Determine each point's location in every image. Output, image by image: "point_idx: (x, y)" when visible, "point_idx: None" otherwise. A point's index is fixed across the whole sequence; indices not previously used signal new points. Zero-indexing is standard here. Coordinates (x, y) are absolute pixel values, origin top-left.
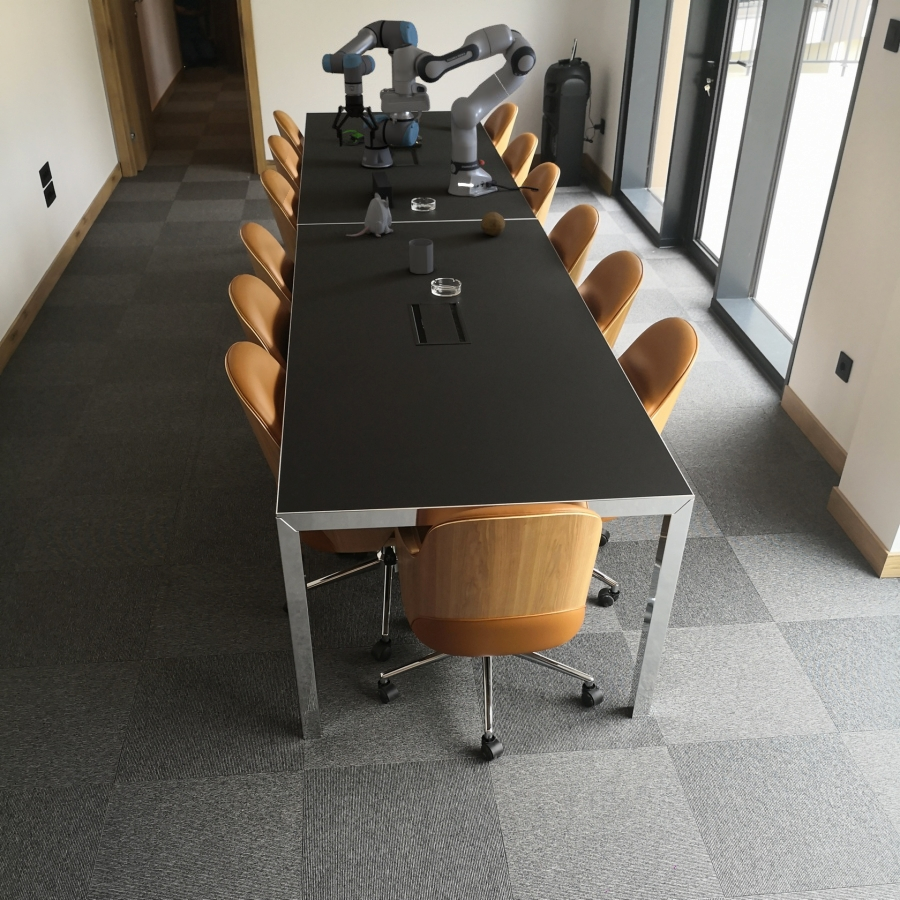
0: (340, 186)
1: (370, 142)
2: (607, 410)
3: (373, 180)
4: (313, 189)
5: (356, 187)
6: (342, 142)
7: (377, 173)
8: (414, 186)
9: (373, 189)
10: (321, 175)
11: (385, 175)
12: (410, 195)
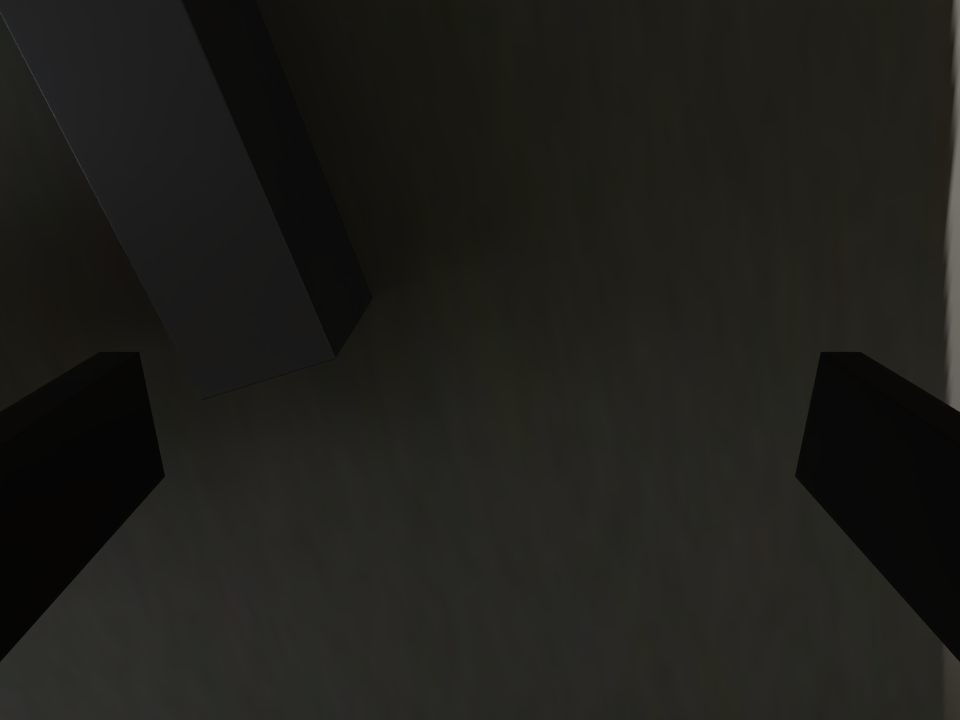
0: (674, 431)
1: (67, 399)
2: None
3: (299, 225)
4: (893, 326)
5: (541, 421)
6: (827, 497)
7: (256, 313)
8: None
9: (340, 248)
10: (845, 659)
11: (134, 241)
12: (32, 261)
